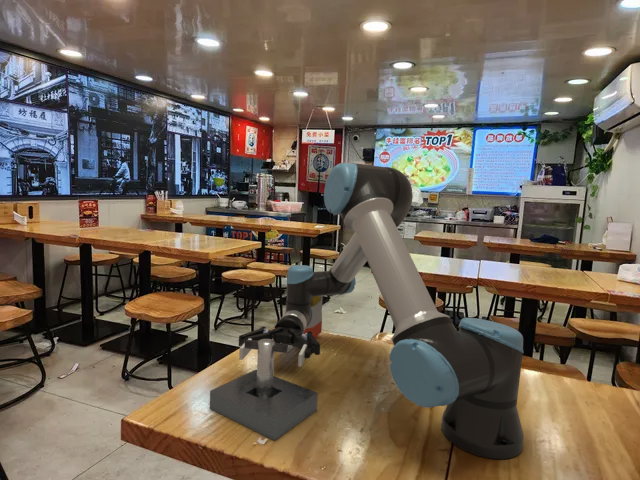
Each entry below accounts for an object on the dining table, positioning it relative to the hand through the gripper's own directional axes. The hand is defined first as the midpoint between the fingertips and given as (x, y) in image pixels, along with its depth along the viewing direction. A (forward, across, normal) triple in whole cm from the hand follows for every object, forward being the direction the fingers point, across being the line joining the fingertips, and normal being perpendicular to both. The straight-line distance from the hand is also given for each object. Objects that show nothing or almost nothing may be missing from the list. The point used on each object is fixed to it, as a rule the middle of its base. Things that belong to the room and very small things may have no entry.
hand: (270, 357), depth 89 cm
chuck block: (+5, 0, -10) cm, 11 cm away
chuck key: (+5, 0, -10) cm, 11 cm away
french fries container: (-42, 0, -10) cm, 43 cm away
